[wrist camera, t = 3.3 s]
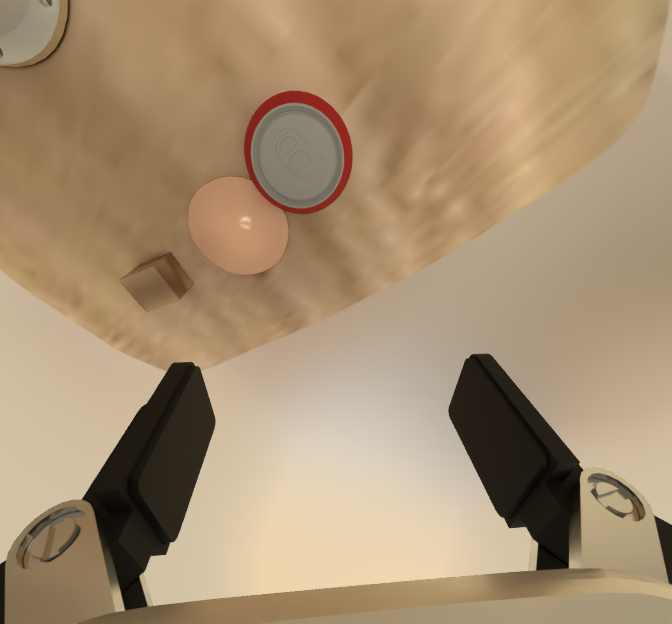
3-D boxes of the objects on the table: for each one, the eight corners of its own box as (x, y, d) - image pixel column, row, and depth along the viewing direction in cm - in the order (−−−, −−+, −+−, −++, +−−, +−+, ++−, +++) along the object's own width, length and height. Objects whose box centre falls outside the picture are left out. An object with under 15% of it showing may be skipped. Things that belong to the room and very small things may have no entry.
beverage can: (299, 205, 29) (291, 241, 19) (251, 143, 26) (211, 145, 15) (353, 161, 27) (378, 173, 17) (309, 88, 24) (306, 50, 14)
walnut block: (140, 264, 31) (118, 280, 28) (171, 252, 30) (153, 266, 27) (163, 294, 33) (146, 312, 30) (193, 283, 32) (179, 299, 29)
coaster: (177, 176, 27) (174, 177, 26) (284, 175, 27) (283, 176, 27) (203, 273, 32) (201, 275, 31) (292, 271, 32) (291, 273, 32)
